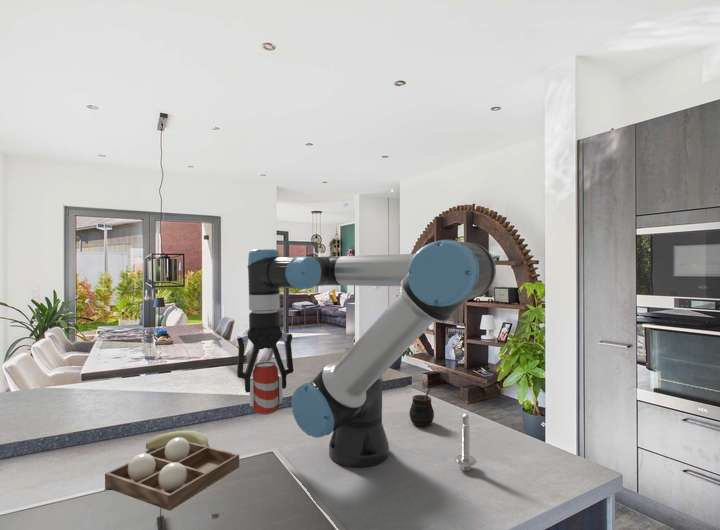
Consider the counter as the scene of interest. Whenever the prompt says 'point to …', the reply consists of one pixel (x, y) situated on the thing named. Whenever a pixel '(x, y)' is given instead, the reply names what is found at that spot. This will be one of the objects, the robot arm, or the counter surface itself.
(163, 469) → the egg
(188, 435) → the fruit
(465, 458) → the screw
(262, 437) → the counter surface
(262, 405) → the beverage can
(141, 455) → the egg
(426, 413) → the mate gourd
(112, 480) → the crate
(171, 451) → the egg
